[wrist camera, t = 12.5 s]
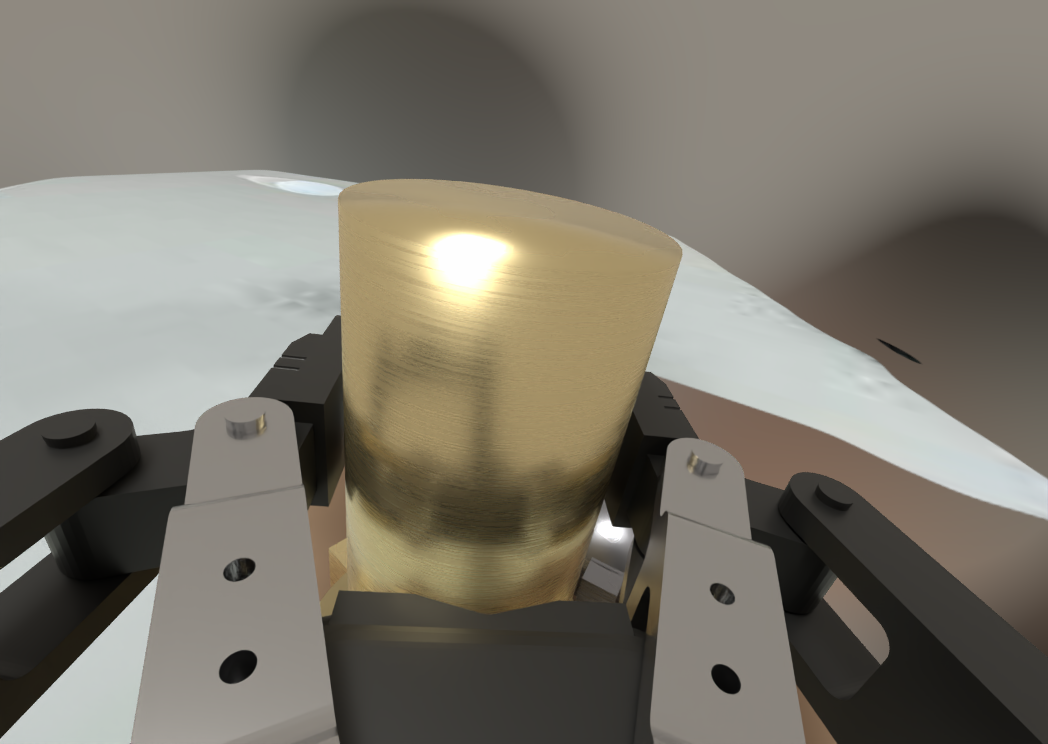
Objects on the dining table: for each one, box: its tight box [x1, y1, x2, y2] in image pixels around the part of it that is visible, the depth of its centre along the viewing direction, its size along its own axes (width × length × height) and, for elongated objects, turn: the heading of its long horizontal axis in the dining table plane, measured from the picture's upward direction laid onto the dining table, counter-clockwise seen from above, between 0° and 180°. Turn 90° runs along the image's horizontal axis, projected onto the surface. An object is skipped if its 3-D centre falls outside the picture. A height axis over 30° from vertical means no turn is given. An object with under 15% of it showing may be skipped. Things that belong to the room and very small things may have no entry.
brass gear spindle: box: [320, 179, 682, 617], centre depth 10 cm, size 10×10×13 cm
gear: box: [574, 500, 634, 603], centre depth 20 cm, size 10×9×4 cm
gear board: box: [308, 466, 837, 744], centre depth 16 cm, size 18×20×1 cm
